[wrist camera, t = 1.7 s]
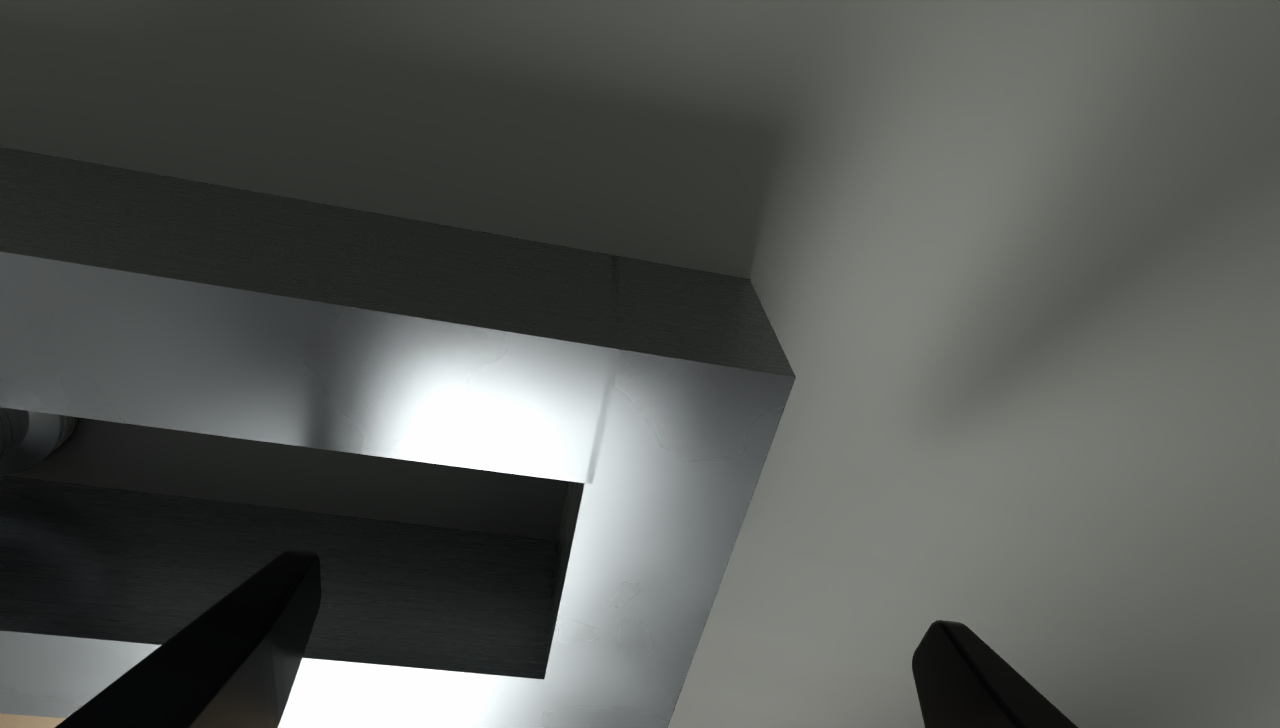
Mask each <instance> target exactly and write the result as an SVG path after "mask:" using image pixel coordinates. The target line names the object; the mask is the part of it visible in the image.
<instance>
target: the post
mask: <svg viewBox="0 0 1280 728" xmlns="http://www.w3.org/2000/svg"><path fill="white" fill-rule="evenodd" d="M77 420H78V417H72V416H64V415H56V414H49V413H41V412H33V411H26V410H18V409H10V408H3V407H0V475H6V474H13V473H17V472H21V471H24V470H27V469H29V468H31V467H33V466H35V465H37V464H38V463H40V462H41V461H42V460H44V459H45V458H46V457H47V456H48V455H49V454H51V453H52V452H53V451H54V450H55V449H56V448H58V447H59V446H60V445H61V444H62V443H63V442H64V441H66V440H67V439H68V438H69V436H70V435H71V434H72V432H73V431H74V429H75V426H76V424H77Z"/></svg>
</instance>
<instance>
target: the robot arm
mask: <svg viewBox="0 0 1280 728" xmlns="http://www.w3.org/2000/svg"><path fill="white" fill-rule="evenodd" d="M320 602H321V570H320V558H319V555H318V554H317V553H315V552H311V551H302V550H293V549H289V550H286V551H283V552H282V553H280V554H279V555H278V556H276V557H275V558H274V559H272V560H271V561H270V562H269V563H267V564H266V565H265V566H263V567H262V568H261V569H259V570H258V571H257V572H256V573H254V574H253V575H252V576H250V577H249V578H248V579H247V580H245V581H244V582H243V583H241V584H240V585H239V586H237V587H236V588H235V589H234V590H232V591H231V592H230V593H228V594H227V595H226V596H224V597H223V598H222V599H221V600H219V601H218V602H217V603H215V604H214V605H213V606H212V607H210V608H209V609H208V610H206V611H205V612H204V613H202V614H201V615H200V616H199V617H197V618H196V619H195V620H193V621H192V622H191V623H189V624H188V625H187V626H186V627H184V628H183V629H182V630H180V631H179V632H178V633H176V634H175V635H174V636H173V637H171V638H170V639H169V640H167V641H166V642H165V643H164V644H162V645H161V646H160V647H158V648H157V649H156V650H154V651H153V652H152V653H151V654H149V655H148V656H147V657H145V658H144V659H143V660H141V661H140V662H139V663H138V664H136V665H135V666H134V667H132V668H131V669H130V670H129V671H127V672H126V673H125V674H123V675H122V676H121V677H119V678H118V679H117V680H116V681H114V682H113V683H112V684H110V685H109V686H108V687H106V688H105V689H104V690H103V691H101V692H100V693H99V694H97V695H96V696H95V697H93V698H92V699H91V700H90V701H88V702H87V703H86V704H84V705H83V706H82V707H81V708H79V709H78V710H77V711H75V712H74V713H73V714H71V715H70V716H69V717H68V718H66V719H65V720H64V721H62V722H61V723H60V724H58V725H57V726H56V727H55V728H278V726H279V723H280V721H281V718H282V715H283V712H284V710H285V707H286V704H287V701H288V698H289V695H290V693H291V690H292V687H293V684H294V681H295V678H296V675H297V672H298V669H299V666H300V663H301V660H302V658H303V655H304V652H305V649H306V646H307V643H308V640H309V637H310V634H311V631H312V628H313V625H314V623H315V620H316V617H317V614H318V611H319V607H320ZM912 670H913V675H914V680H915V684H916V689H917V693H918V698H919V702H920V707H921V711H922V716H923V720H924V725H925V728H1078V727H1077V726H1076V725H1074V724H1073V723H1072V722H1071V721H1070V720H1069V719H1068V718H1067V717H1066V716H1065V715H1063V714H1062V713H1061V712H1060V711H1059V710H1058V709H1057V708H1056V707H1055V706H1054V705H1053V704H1051V703H1050V702H1049V701H1048V700H1047V699H1046V698H1045V697H1044V696H1043V695H1042V694H1040V693H1039V692H1038V691H1037V690H1036V689H1035V688H1034V687H1033V686H1032V685H1031V684H1029V683H1028V682H1027V681H1026V680H1025V679H1024V678H1023V677H1022V676H1021V675H1020V674H1019V673H1017V672H1016V671H1015V670H1014V669H1013V668H1012V667H1011V666H1010V665H1009V664H1008V663H1006V662H1005V661H1004V660H1003V659H1002V658H1001V657H1000V656H999V655H998V654H997V653H996V652H994V651H993V650H992V649H991V648H990V647H989V646H988V645H987V644H986V643H985V642H983V641H982V640H981V639H980V638H979V637H978V636H977V635H976V634H975V633H974V632H972V631H971V630H970V629H969V628H968V627H967V626H966V625H964V624H962V623H959V622H951V621H942V620H938V621H935V622H934V623H932V624H931V626H930V627H929V629H928V631H927V632H926V634H925V636H924V637H923V639H922V640H921V642H920V644H919V645H918V647H917V649H916V650H915V652H914V655H913V659H912Z"/></svg>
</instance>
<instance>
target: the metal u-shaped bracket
mask: <svg viewBox="0 0 1280 728" xmlns="http://www.w3.org/2000/svg"><path fill="white" fill-rule="evenodd" d="M795 378H796V377H795V375H794V373H793V371H792V368H791V366H790V364H789V362H788V360H787V358H786V356H785V354H784V351H783V349H782V347H781V345H780V343H779V341H778V339H777V337H776V334H775V332H774V330H773V328H772V326H771V324H770V322H769V320H768V317H767V315H766V313H765V311H764V309H763V307H762V305H761V303H760V300H759V298H758V296H757V294H756V292H755V290H754V288H753V286H752V284H751V281H750V279H744V278H739V277H733V276H727V275H722V274H716V273H710V272H705V271H699V270H693V269H688V268H682V267H676V266H671V265H665V264H659V263H654V262H648V261H642V260H637V259H631V258H625V257H620V256H614V255H608V254H603V253H597V252H591V251H586V250H580V249H574V248H569V247H563V246H557V245H552V244H546V243H540V242H535V241H529V240H523V239H518V238H512V237H506V236H501V235H495V234H489V233H484V232H478V231H472V230H467V229H461V228H455V227H450V226H444V225H439V224H433V223H427V222H422V221H416V220H410V219H405V218H399V217H393V216H388V215H382V214H376V213H371V212H365V211H359V210H354V209H348V208H342V207H337V206H331V205H325V204H320V203H314V202H308V201H303V200H297V199H291V198H286V197H280V196H274V195H269V194H263V193H257V192H252V191H246V190H240V189H235V188H229V187H223V186H218V185H212V184H206V183H201V182H195V181H189V180H184V179H178V178H172V177H167V176H161V175H155V174H150V173H144V172H138V171H133V170H127V169H121V168H116V167H110V166H104V165H99V164H93V163H87V162H82V161H76V160H70V159H65V158H59V157H53V156H48V155H42V154H36V153H31V152H25V151H19V150H14V149H8V148H2V147H0V407H3V408H10V409H18V410H26V411H33V412H41V413H49V414H56V415H64V416H72V417H79V418H87V419H95V420H102V421H110V422H118V423H125V424H133V425H141V426H149V427H156V428H164V429H172V430H179V431H187V432H195V433H202V434H210V435H218V436H225V437H233V438H241V439H248V440H256V441H264V442H271V443H279V444H287V445H294V446H302V447H310V448H318V449H325V450H333V451H341V452H348V453H356V454H364V455H371V456H379V457H387V458H394V459H402V460H410V461H417V462H425V463H433V464H440V465H448V466H456V467H464V468H471V469H479V470H487V471H494V472H502V473H510V474H517V475H525V476H533V477H540V478H548V479H556V480H563V481H568V486H567V491H566V497H565V502H564V507H563V512H562V518H561V523H560V528H559V533H558V539H557V541H552V540H543V539H535V538H526V537H518V536H509V535H501V534H492V533H484V532H476V531H467V530H459V529H450V528H442V527H433V526H425V525H416V524H408V523H399V522H391V521H382V520H374V519H365V518H357V517H348V516H340V515H331V514H323V513H314V512H306V511H297V510H289V509H280V508H272V507H264V506H255V505H247V504H238V503H230V502H221V501H213V500H204V499H196V498H187V497H179V496H170V495H162V494H153V493H145V492H136V491H128V490H119V489H111V488H102V487H94V486H85V485H77V484H68V483H60V482H52V481H43V480H35V479H26V478H18V477H9V476H1V475H0V713H1V714H14V715H28V716H41V717H54V718H68V717H69V716H70V715H71V714H73V713H74V712H75V711H77V710H78V709H79V708H81V707H82V706H83V705H84V704H86V703H87V702H88V701H90V700H91V699H92V698H93V697H95V696H96V695H97V694H99V693H100V692H101V691H103V690H104V689H105V688H106V687H108V686H109V685H110V684H112V683H113V682H114V681H116V680H117V679H118V678H119V677H121V676H122V675H123V674H125V673H126V672H127V671H129V670H130V669H131V668H132V667H134V666H135V665H136V664H138V663H139V662H140V661H141V660H143V659H144V658H145V657H147V656H148V655H149V654H151V653H152V652H153V651H154V650H156V649H157V648H158V647H160V646H161V645H162V644H164V643H165V642H166V641H167V640H169V639H170V638H171V637H173V636H174V635H175V634H176V633H178V632H179V631H180V630H182V629H183V628H184V627H186V626H187V625H188V624H189V623H191V622H192V621H193V620H195V619H196V618H197V617H199V616H200V615H201V614H202V613H204V612H205V611H206V610H208V609H209V608H210V607H212V606H213V605H214V604H215V603H217V602H218V601H219V600H221V599H222V598H223V597H224V596H226V595H227V594H228V593H230V592H231V591H232V590H234V589H235V588H236V587H237V586H239V585H240V584H241V583H243V582H244V581H245V580H247V579H248V578H249V577H250V576H252V575H253V574H254V573H256V572H257V571H258V570H259V569H261V568H262V567H263V566H265V565H266V564H267V563H269V562H270V561H271V560H272V559H274V558H275V557H276V556H278V555H279V554H280V553H282V552H283V551H286V550H289V549H293V550H302V551H311V552H315V553H317V554H318V555H319V558H320V570H321V602H320V607H319V611H318V614H317V617H316V620H315V623H314V625H313V628H312V631H311V634H310V637H309V640H308V643H307V646H306V649H305V652H304V655H303V658H302V660H301V663H300V666H299V669H298V672H297V675H296V678H295V681H294V684H293V687H292V690H291V693H290V695H289V698H288V701H287V704H286V707H285V710H284V712H283V715H282V718H281V721H280V723H279V726H278V728H668V725H669V722H670V719H671V717H672V714H673V711H674V708H675V706H676V703H677V700H678V698H679V695H680V692H681V689H682V687H683V684H684V681H685V678H686V676H687V673H688V670H689V667H690V665H691V662H692V659H693V657H694V654H695V651H696V648H697V646H698V643H699V640H700V637H701V635H702V632H703V629H704V626H705V624H706V621H707V618H708V616H709V613H710V610H711V607H712V605H713V602H714V599H715V596H716V594H717V591H718V588H719V585H720V583H721V580H722V577H723V574H724V572H725V569H726V566H727V564H728V561H729V558H730V555H731V553H732V550H733V547H734V544H735V542H736V539H737V536H738V533H739V531H740V528H741V525H742V523H743V520H744V517H745V514H746V512H747V509H748V506H749V503H750V501H751V498H752V495H753V492H754V490H755V487H756V484H757V482H758V479H759V476H760V473H761V471H762V468H763V465H764V462H765V460H766V457H767V454H768V451H769V449H770V446H771V443H772V441H773V438H774V435H775V432H776V430H777V427H778V424H779V421H780V419H781V416H782V413H783V410H784V408H785V405H786V402H787V400H788V397H789V394H790V391H791V389H792V386H793V383H794V380H795Z"/></svg>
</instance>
